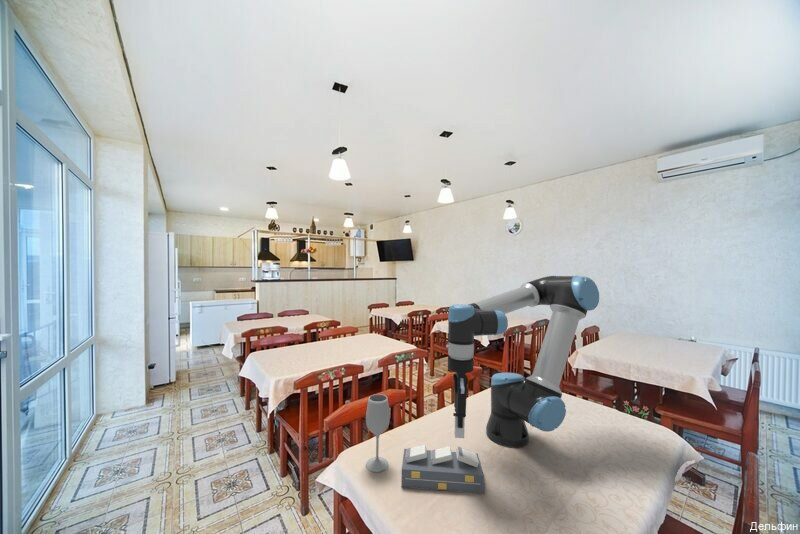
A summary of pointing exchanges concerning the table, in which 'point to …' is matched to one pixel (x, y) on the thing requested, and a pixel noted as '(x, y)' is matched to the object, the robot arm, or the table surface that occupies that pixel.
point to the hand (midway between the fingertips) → (459, 436)
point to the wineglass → (377, 427)
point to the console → (442, 475)
